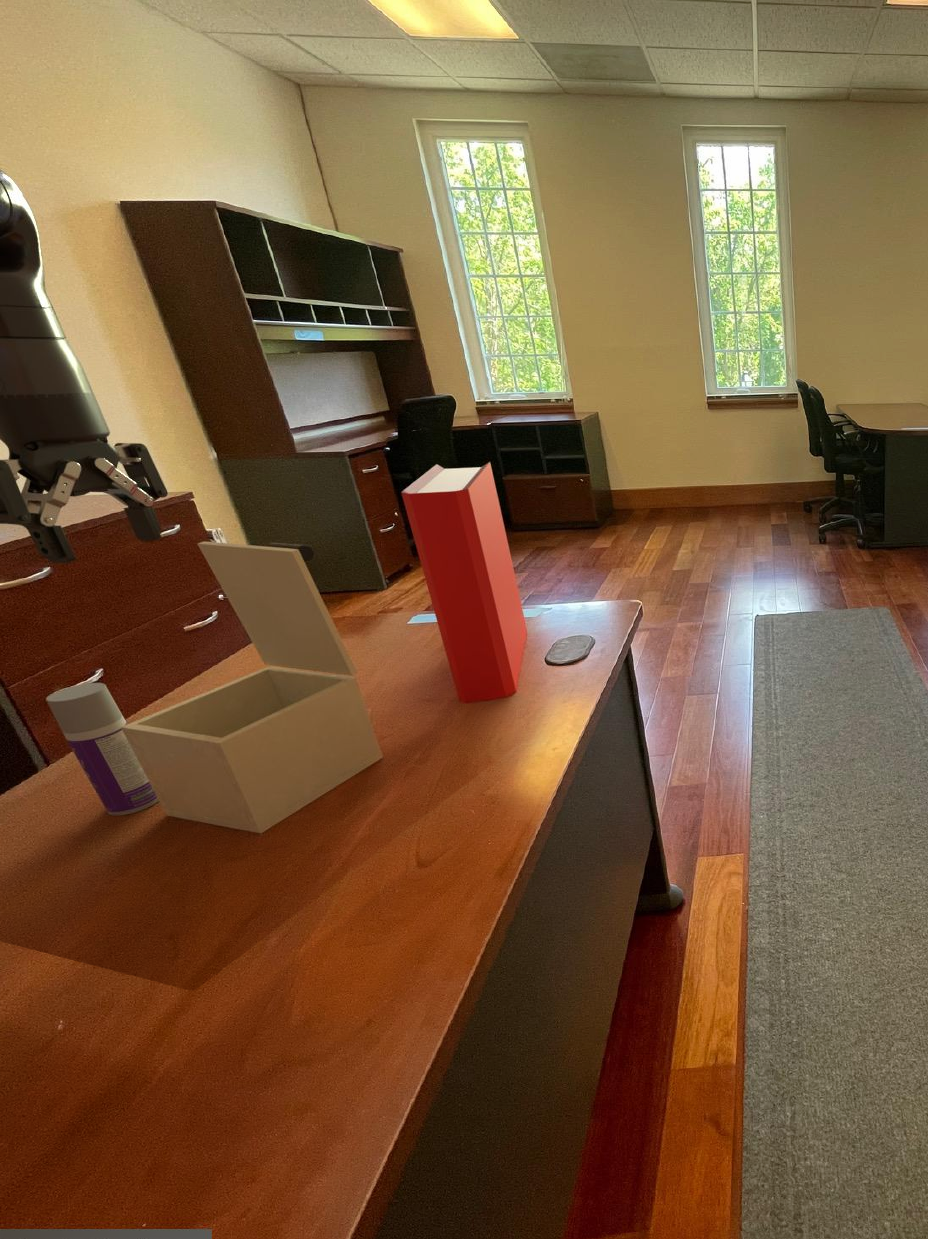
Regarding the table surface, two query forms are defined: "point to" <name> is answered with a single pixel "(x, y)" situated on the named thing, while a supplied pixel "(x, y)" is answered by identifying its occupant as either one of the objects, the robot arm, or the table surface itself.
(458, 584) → the book
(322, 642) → the lid
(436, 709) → the table surface
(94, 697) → the container
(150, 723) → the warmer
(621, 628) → the table surface
